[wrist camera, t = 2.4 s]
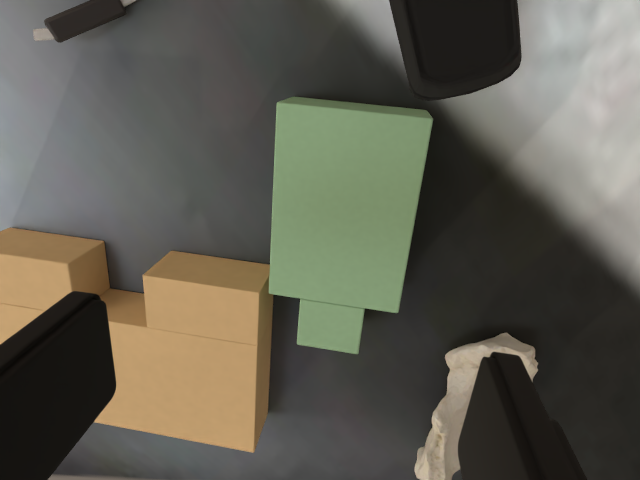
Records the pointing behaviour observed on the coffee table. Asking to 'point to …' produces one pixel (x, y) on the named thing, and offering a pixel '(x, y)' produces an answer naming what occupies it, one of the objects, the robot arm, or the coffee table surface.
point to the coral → (462, 403)
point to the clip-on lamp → (81, 19)
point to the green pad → (344, 211)
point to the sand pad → (159, 333)
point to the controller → (457, 44)
